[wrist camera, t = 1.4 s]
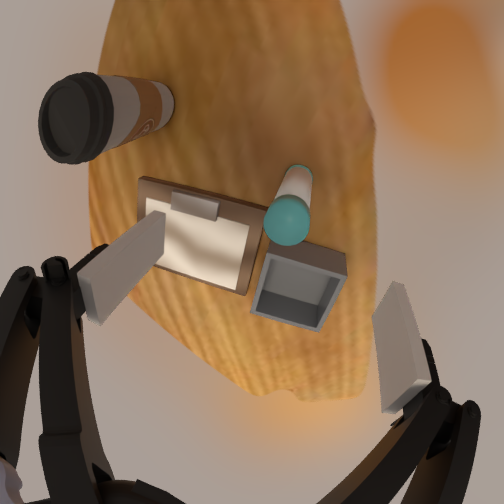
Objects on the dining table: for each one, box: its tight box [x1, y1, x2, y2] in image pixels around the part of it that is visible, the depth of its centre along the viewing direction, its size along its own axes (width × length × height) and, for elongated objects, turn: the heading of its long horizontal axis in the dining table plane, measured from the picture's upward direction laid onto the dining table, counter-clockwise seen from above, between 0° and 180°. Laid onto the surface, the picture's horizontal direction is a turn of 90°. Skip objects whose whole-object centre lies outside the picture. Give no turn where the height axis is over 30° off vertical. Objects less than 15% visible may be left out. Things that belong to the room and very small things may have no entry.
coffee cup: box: [38, 72, 174, 164], centre depth 23 cm, size 8×8×15 cm
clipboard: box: [137, 176, 268, 296], centre depth 36 cm, size 13×17×2 cm
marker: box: [263, 165, 313, 246], centre depth 25 cm, size 3×3×13 cm
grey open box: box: [250, 240, 348, 332], centre depth 34 cm, size 9×9×5 cm
